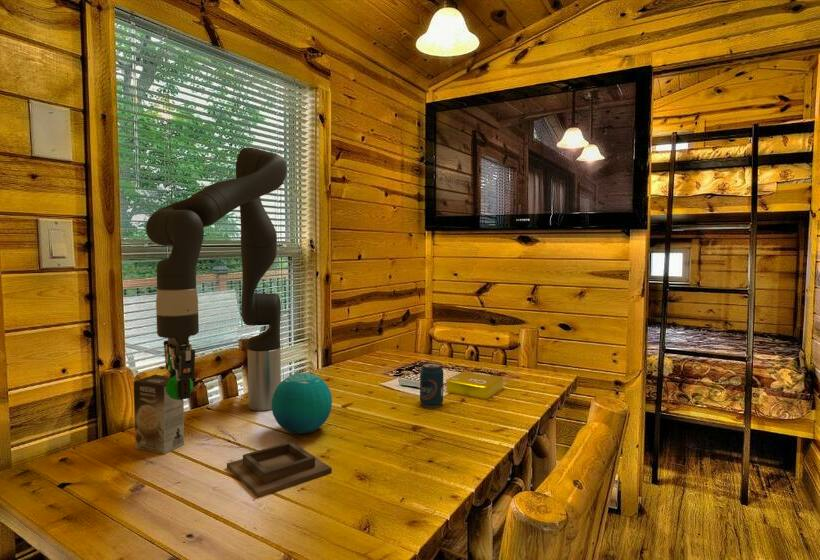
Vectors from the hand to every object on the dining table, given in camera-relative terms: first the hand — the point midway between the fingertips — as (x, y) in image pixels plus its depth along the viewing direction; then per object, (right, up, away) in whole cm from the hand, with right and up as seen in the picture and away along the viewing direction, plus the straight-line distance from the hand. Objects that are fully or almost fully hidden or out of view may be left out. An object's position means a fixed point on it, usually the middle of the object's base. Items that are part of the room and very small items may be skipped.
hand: (180, 394), depth 98 cm
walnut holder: (+19, -17, +5) cm, 26 cm away
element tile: (+68, -14, +63) cm, 93 cm away
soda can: (+53, -14, +48) cm, 73 cm away
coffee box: (-12, -16, +16) cm, 26 cm away
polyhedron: (0, -1, 0) cm, 1 cm away
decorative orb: (+19, -16, +26) cm, 36 cm away
